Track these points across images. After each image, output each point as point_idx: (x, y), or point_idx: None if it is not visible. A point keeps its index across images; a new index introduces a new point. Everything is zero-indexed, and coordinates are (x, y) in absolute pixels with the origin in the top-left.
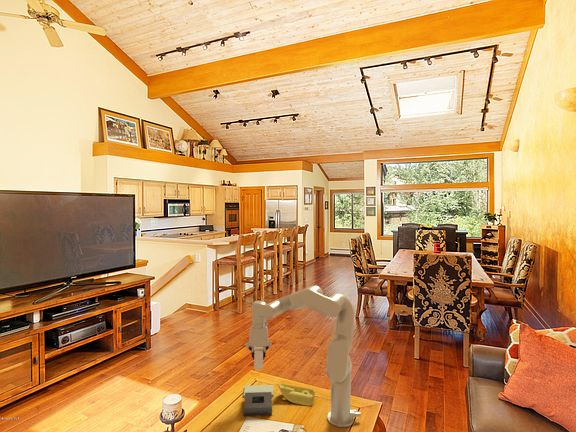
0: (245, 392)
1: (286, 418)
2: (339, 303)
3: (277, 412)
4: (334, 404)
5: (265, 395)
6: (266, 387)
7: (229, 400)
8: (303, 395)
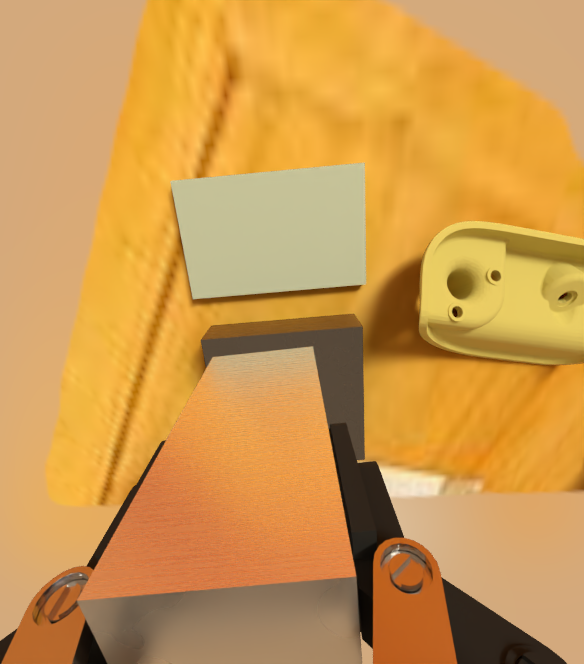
0: (195, 268)
1: (418, 450)
2: None
3: (381, 414)
4: None
5: (326, 364)
6: (321, 200)
7: (128, 330)
8: (549, 342)
